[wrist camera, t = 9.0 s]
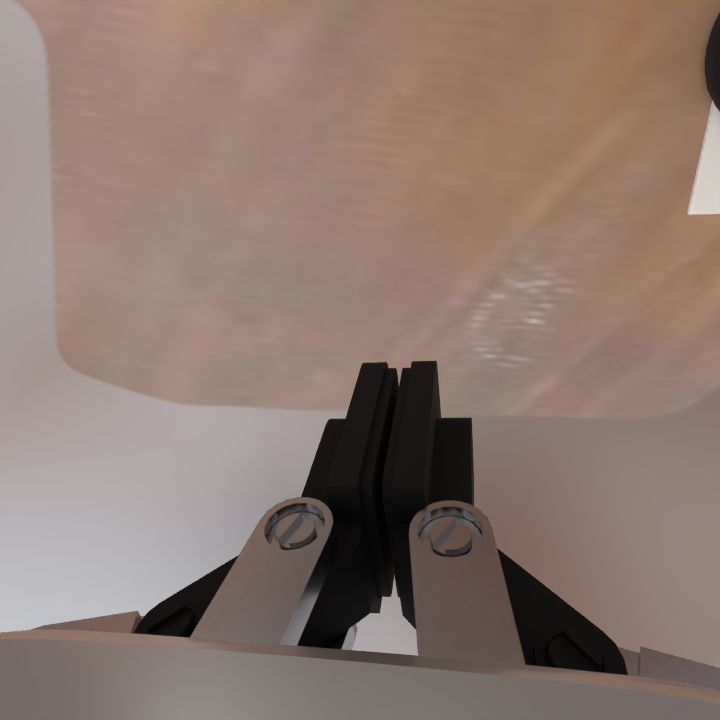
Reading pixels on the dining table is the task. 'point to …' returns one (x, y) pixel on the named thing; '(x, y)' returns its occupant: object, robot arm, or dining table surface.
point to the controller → (713, 63)
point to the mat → (708, 170)
